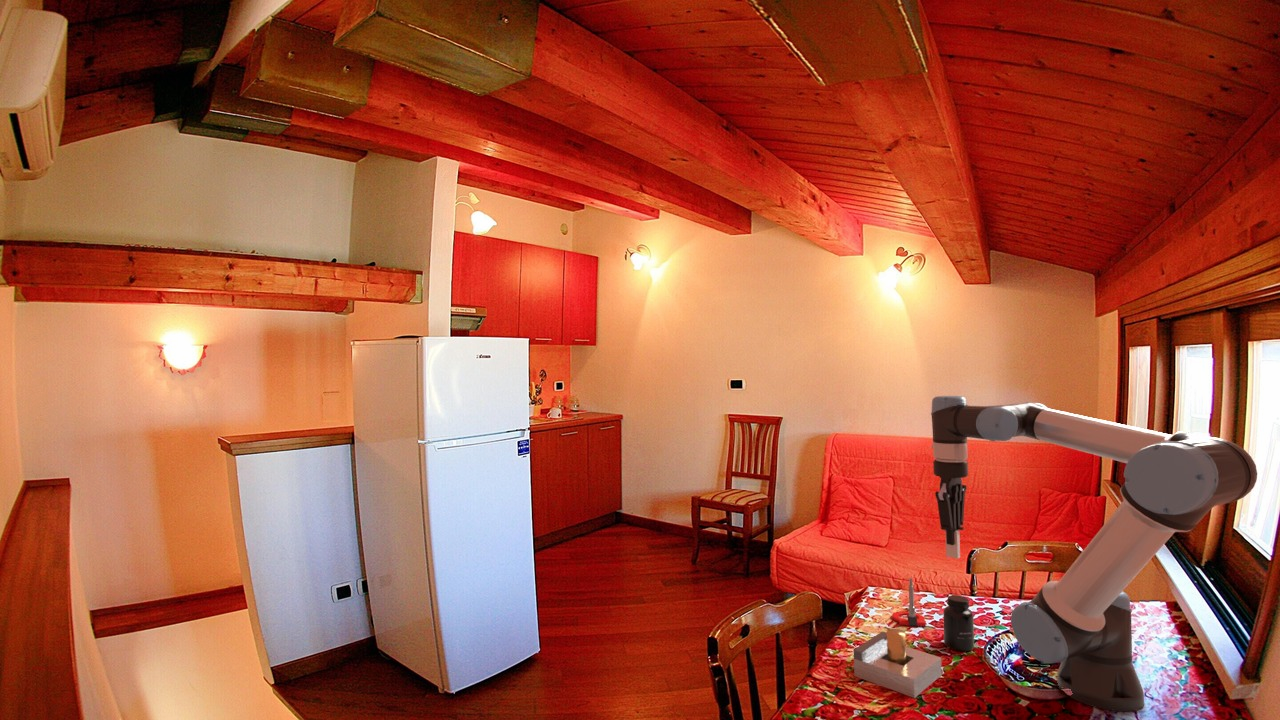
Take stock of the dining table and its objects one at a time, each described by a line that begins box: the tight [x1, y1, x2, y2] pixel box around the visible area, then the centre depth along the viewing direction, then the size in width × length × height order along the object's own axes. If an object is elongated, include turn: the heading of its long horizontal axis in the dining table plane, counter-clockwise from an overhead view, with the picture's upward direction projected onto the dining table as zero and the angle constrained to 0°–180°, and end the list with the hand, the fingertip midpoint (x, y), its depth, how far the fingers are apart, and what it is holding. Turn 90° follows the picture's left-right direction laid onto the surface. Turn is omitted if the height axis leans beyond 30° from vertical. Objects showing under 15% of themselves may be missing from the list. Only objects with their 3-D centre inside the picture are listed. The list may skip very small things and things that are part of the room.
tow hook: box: [891, 577, 927, 627], centre depth 179 cm, size 8×13×9 cm
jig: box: [853, 630, 943, 699], centre depth 148 cm, size 14×14×6 cm
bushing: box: [886, 627, 907, 666], centre depth 148 cm, size 4×4×10 cm
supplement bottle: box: [943, 594, 975, 652], centre depth 162 cm, size 7×7×12 cm
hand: (953, 556), depth 156 cm, fingers closed
